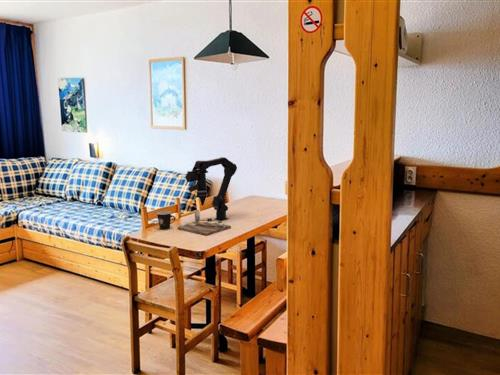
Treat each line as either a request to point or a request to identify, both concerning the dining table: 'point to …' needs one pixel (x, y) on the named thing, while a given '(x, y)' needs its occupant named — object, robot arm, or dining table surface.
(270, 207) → the dining table surface
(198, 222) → the lever
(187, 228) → the nutcracker board
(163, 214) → the coffee mug
